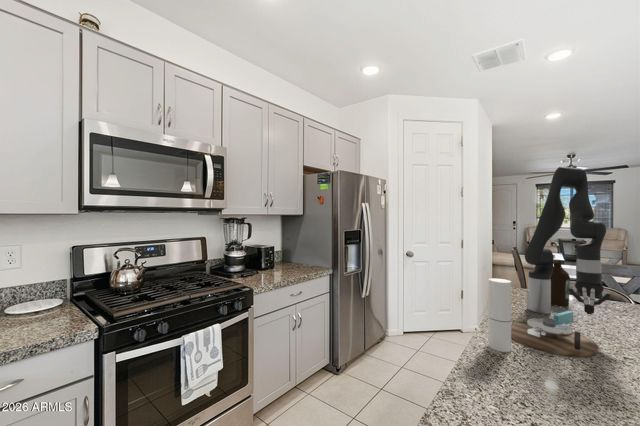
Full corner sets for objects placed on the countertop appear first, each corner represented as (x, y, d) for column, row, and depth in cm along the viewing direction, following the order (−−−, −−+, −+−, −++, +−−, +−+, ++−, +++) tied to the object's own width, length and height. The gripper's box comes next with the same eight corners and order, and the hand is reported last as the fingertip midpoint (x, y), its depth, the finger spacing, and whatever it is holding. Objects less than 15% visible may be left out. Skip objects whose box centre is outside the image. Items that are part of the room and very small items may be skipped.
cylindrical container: (508, 344, 109) (507, 279, 109) (513, 353, 102) (513, 283, 102) (486, 341, 111) (486, 277, 111) (491, 350, 104) (491, 281, 105)
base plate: (575, 364, 95) (575, 341, 95) (492, 332, 120) (492, 315, 120) (612, 347, 107) (612, 327, 107) (530, 322, 132) (530, 306, 132)
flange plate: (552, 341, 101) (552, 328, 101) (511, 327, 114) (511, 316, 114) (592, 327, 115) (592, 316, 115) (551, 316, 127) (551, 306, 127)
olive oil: (544, 304, 160) (544, 259, 161) (547, 300, 168) (547, 257, 168) (569, 308, 153) (569, 262, 153) (571, 304, 160) (571, 260, 160)
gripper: (565, 269, 117) (566, 312, 117) (611, 274, 107) (612, 320, 107) (568, 267, 122) (569, 308, 122) (612, 271, 112) (613, 316, 112)
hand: (589, 313), depth 114 cm, fingers closed
